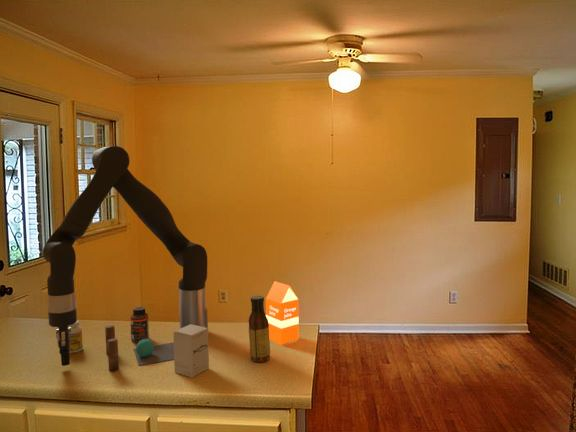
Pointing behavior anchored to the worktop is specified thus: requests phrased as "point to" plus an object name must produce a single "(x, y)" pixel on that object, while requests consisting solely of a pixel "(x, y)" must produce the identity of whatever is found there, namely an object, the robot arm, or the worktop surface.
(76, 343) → the supplement bottle
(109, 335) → the post far
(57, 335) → the robot arm
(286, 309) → the orange juice
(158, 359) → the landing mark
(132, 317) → the supplement bottle
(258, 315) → the sauce bottle
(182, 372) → the supplement box
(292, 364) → the worktop surface
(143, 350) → the ball
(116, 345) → the post near
